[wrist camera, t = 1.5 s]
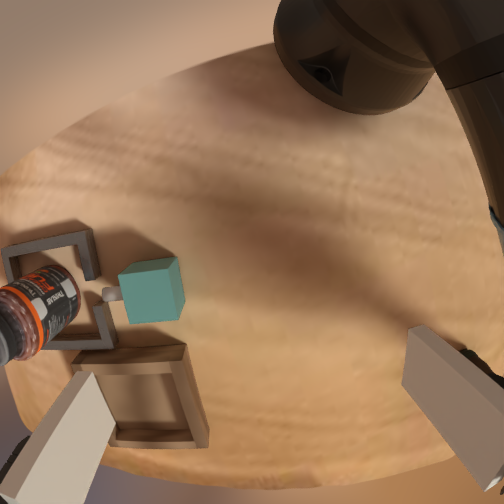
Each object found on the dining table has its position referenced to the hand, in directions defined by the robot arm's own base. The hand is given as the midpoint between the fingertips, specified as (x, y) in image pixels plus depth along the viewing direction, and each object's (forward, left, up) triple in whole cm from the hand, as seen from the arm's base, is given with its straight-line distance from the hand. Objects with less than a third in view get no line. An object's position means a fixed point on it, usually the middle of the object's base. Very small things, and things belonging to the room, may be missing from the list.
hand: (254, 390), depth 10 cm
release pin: (+8, 0, -16) cm, 18 cm away
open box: (+12, +12, -16) cm, 23 cm away
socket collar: (+18, 0, -16) cm, 24 cm away
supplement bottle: (+18, 0, -17) cm, 24 cm away
